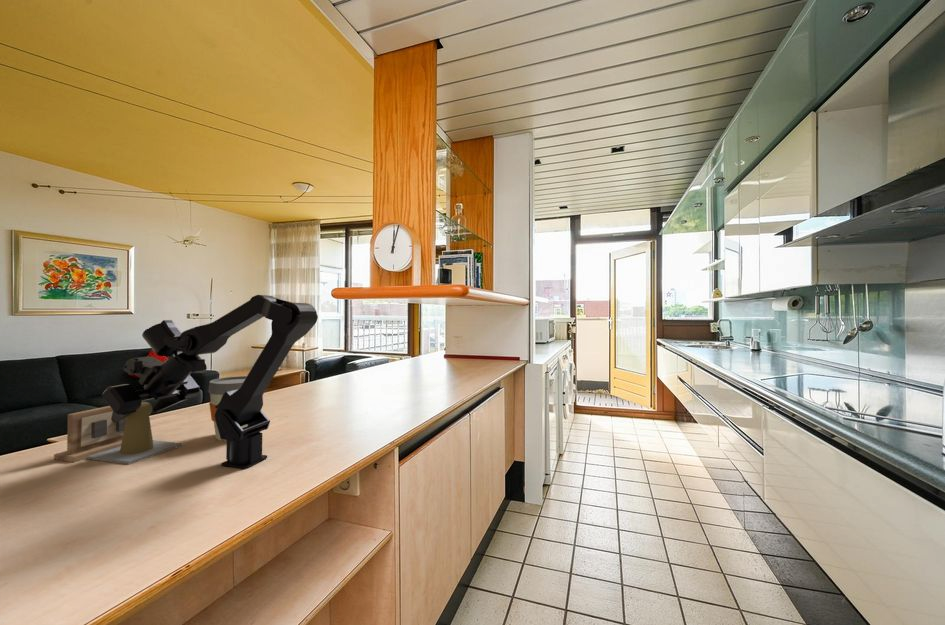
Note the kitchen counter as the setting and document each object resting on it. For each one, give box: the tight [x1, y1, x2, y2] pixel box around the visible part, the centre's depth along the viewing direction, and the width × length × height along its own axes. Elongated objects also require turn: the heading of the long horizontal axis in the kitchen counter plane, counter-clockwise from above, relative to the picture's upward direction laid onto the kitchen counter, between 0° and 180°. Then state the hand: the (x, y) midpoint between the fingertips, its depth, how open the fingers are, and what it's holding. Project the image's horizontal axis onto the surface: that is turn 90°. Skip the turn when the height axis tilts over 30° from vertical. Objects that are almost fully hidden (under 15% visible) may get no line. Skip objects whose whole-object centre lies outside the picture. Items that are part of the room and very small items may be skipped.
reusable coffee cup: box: [207, 375, 248, 442], centre depth 102 cm, size 13×13×15 cm
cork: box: [120, 401, 154, 454], centre depth 89 cm, size 6×6×11 cm
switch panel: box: [53, 405, 126, 463], centre depth 91 cm, size 6×16×10 cm, turn 168°
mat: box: [87, 439, 183, 465], centre depth 89 cm, size 12×12×1 cm
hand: (134, 415), depth 89 cm, fingers open, 9 cm apart
